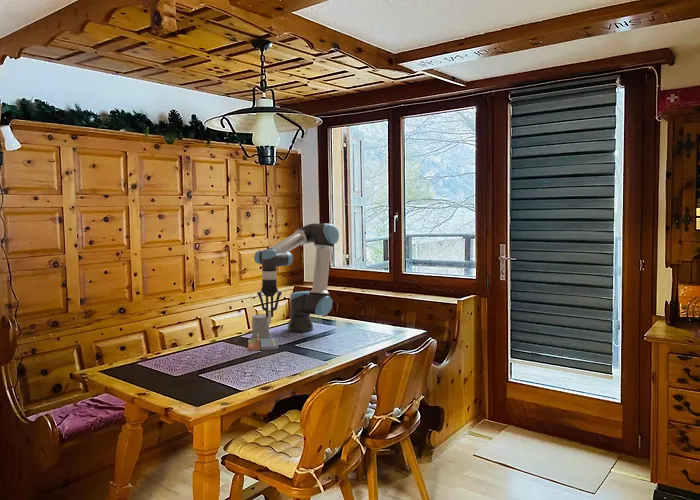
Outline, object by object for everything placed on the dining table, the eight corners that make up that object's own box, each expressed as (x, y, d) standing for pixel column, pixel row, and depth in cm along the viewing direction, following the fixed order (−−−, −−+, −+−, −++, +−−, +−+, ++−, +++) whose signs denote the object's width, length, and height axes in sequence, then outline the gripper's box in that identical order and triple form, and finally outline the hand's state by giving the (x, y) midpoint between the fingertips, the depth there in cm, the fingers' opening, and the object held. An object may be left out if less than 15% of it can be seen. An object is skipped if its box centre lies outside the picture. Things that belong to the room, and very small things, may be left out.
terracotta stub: (259, 345, 289) (259, 337, 289) (260, 349, 281) (259, 340, 281) (248, 346, 288) (248, 337, 288) (248, 350, 280) (248, 341, 280)
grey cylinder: (271, 335, 313) (270, 314, 312) (266, 339, 303) (266, 317, 302) (254, 334, 314) (254, 314, 313) (250, 339, 304) (249, 317, 303)
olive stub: (259, 341, 298) (259, 333, 298) (259, 345, 290) (259, 336, 290) (248, 342, 297) (248, 333, 297) (248, 345, 289) (248, 337, 289)
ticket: (276, 340, 300) (276, 337, 300) (278, 349, 283) (278, 345, 283) (260, 341, 299) (260, 338, 299) (261, 350, 281) (261, 346, 281)
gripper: (281, 277, 288) (281, 321, 290) (256, 278, 286) (256, 322, 287) (282, 279, 281) (282, 324, 283) (256, 280, 278) (257, 325, 280)
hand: (269, 323), depth 285 cm, fingers closed
